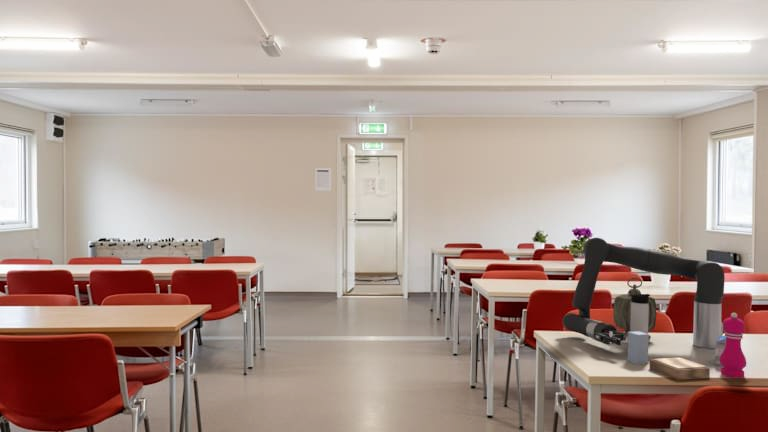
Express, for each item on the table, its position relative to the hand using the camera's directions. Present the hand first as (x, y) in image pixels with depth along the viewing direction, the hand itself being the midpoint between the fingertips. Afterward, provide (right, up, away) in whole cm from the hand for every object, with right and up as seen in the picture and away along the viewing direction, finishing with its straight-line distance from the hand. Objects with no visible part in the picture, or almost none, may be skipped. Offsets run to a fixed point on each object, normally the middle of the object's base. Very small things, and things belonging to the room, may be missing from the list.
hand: (630, 342), depth 192 cm
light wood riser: (+8, -6, -16) cm, 19 cm away
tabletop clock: (+16, -6, +33) cm, 38 cm away
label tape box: (+31, -7, -3) cm, 32 cm away
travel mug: (+13, -6, +21) cm, 26 cm away
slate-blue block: (+1, -6, -4) cm, 7 cm away
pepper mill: (+25, -7, -17) cm, 31 cm away
